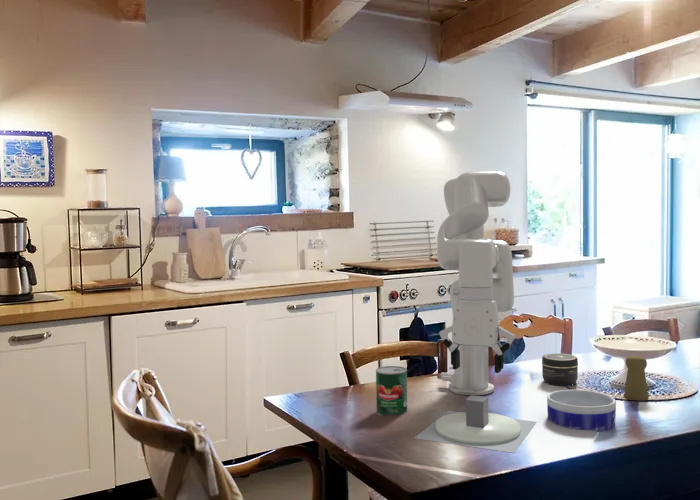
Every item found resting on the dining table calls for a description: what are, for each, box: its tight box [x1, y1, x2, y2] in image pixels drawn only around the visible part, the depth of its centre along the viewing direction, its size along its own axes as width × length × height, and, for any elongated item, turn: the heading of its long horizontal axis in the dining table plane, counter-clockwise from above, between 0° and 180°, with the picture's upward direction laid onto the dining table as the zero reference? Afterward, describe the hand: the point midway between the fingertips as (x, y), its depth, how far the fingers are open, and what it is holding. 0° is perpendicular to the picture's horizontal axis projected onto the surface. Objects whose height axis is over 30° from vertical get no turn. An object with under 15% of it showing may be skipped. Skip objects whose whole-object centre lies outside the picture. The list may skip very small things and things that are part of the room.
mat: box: [414, 410, 538, 454], centre depth 150 cm, size 22×22×1 cm
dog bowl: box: [546, 389, 617, 433], centre depth 155 cm, size 15×15×6 cm
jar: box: [541, 352, 579, 387], centre depth 191 cm, size 10×10×8 cm
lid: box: [435, 395, 521, 444], centre depth 149 cm, size 19×19×7 cm
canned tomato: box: [375, 365, 408, 417], centre depth 166 cm, size 8×8×11 cm
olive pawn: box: [623, 355, 650, 401], centre depth 174 cm, size 6×6×11 cm
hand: (476, 370), depth 148 cm, fingers open, 9 cm apart
